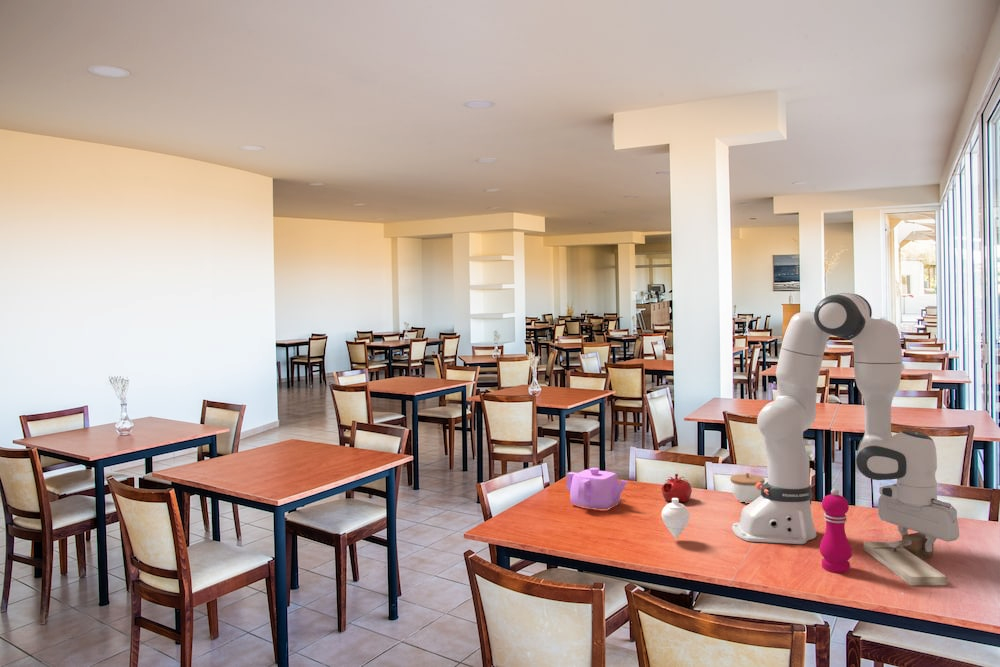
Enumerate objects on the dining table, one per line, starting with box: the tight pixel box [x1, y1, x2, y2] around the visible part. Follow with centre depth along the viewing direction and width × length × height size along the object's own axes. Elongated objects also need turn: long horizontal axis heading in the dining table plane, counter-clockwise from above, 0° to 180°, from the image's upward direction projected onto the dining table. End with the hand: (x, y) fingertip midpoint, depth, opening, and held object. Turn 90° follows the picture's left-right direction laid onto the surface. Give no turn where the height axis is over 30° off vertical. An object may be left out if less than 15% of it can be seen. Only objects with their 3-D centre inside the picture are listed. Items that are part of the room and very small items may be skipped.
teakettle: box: [566, 467, 628, 509], centre depth 228 cm, size 17×17×12 cm
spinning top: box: [661, 498, 691, 541], centre depth 191 cm, size 8×8×12 cm
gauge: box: [890, 532, 935, 560], centre depth 174 cm, size 12×4×5 cm, turn 110°
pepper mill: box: [819, 488, 853, 574], centre depth 168 cm, size 7×7×20 cm
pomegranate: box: [661, 473, 693, 503], centre depth 229 cm, size 10×10×9 cm
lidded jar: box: [729, 472, 766, 502], centre depth 226 cm, size 11×11×9 cm
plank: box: [863, 541, 948, 586], centre depth 168 cm, size 8×23×2 cm, turn 177°
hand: (917, 547), depth 175 cm, fingers closed on gauge, 4 cm apart
